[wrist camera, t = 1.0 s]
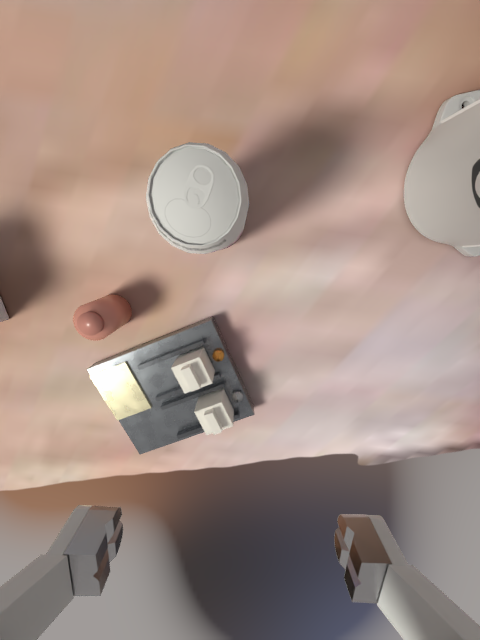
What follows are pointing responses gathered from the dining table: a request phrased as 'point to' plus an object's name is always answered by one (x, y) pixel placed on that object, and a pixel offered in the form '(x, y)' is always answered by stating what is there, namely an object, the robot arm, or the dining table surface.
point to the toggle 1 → (193, 370)
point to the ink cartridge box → (3, 312)
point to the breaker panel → (166, 386)
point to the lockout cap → (102, 317)
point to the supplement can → (198, 198)
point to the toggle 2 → (214, 412)
